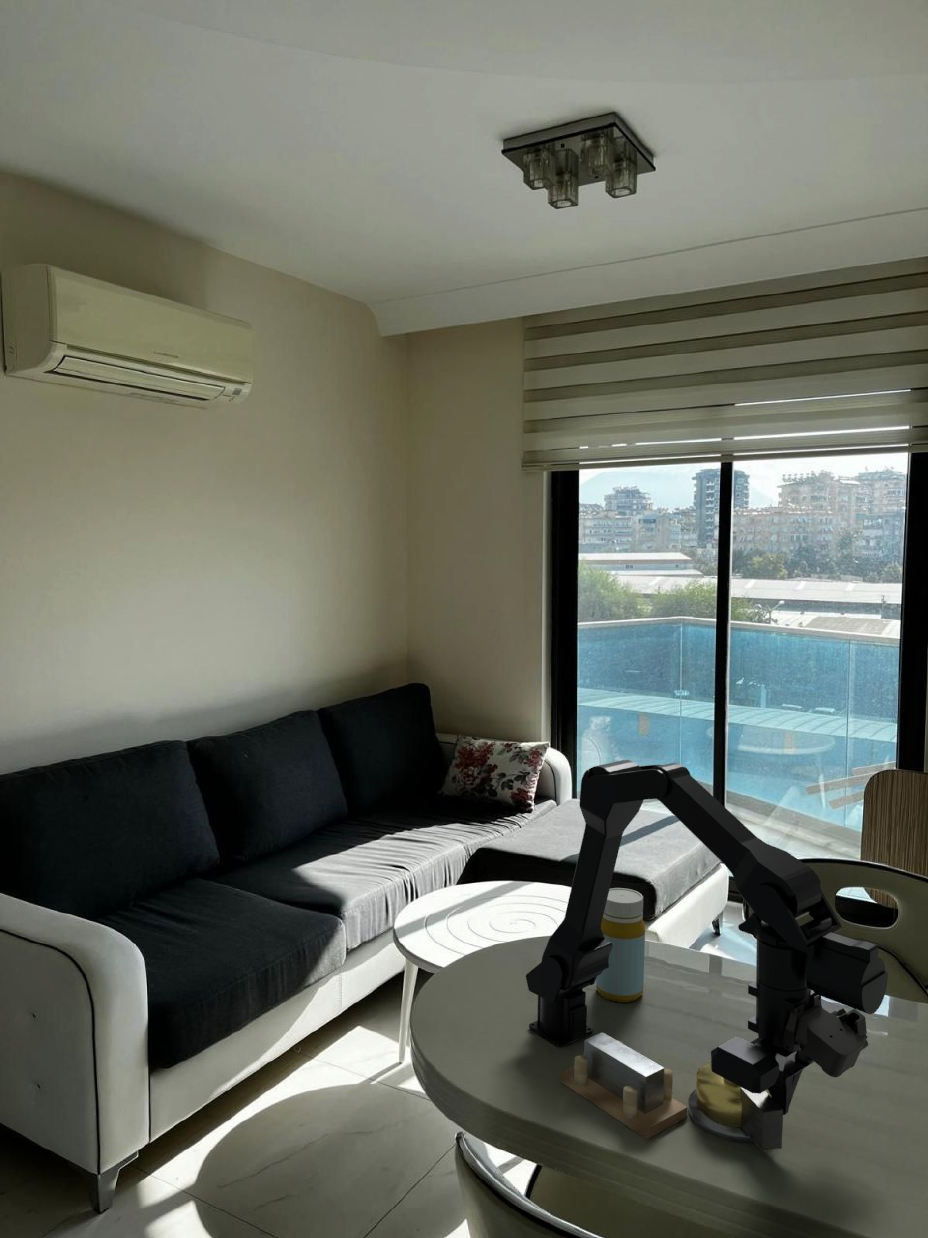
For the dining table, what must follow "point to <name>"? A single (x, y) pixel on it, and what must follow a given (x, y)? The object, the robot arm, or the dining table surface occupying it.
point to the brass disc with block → (740, 1108)
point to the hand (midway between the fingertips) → (781, 1113)
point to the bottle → (623, 946)
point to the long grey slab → (624, 1071)
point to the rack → (626, 1101)
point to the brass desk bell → (715, 1123)
